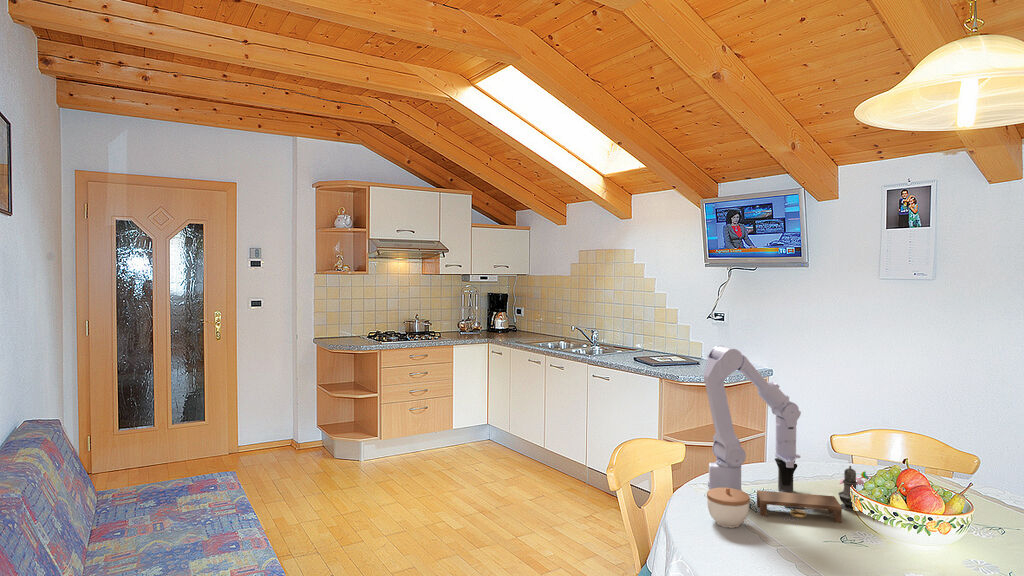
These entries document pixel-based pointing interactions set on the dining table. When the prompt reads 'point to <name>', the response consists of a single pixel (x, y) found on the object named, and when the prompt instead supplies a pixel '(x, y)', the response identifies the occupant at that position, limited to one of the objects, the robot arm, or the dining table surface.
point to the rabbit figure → (858, 479)
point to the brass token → (798, 513)
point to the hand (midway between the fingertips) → (785, 484)
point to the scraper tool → (785, 487)
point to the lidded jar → (728, 506)
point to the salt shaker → (848, 489)
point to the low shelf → (799, 502)
